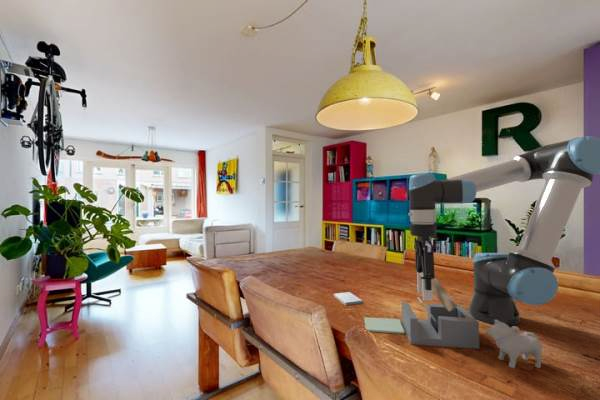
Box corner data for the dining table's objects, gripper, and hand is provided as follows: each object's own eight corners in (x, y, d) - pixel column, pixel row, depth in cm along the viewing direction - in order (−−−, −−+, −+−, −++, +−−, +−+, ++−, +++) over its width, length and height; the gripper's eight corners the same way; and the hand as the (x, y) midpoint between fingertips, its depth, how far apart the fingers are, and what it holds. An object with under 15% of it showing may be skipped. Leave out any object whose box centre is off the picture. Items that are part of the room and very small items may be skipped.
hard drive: (363, 300, 118) (350, 291, 130) (345, 302, 116) (333, 293, 128) (363, 304, 118) (350, 295, 130) (345, 306, 116) (333, 296, 128)
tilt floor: (441, 330, 91) (445, 328, 91) (447, 337, 86) (451, 335, 86) (416, 297, 92) (420, 295, 92) (420, 303, 87) (424, 300, 87)
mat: (399, 320, 100) (399, 319, 100) (404, 333, 90) (404, 332, 90) (364, 318, 102) (364, 317, 102) (365, 331, 92) (365, 329, 92)
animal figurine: (482, 357, 76) (481, 317, 76) (529, 356, 76) (528, 316, 77) (496, 368, 71) (495, 326, 71) (546, 367, 71) (545, 325, 71)
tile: (442, 304, 92) (450, 299, 91) (449, 311, 86) (457, 306, 85) (418, 273, 93) (426, 268, 92) (423, 278, 87) (431, 273, 87)
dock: (460, 327, 94) (459, 304, 94) (479, 348, 80) (478, 322, 81) (401, 324, 97) (401, 302, 97) (410, 344, 84) (410, 318, 84)
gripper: (404, 221, 100) (406, 287, 100) (417, 225, 81) (419, 306, 81) (427, 220, 99) (429, 287, 98) (445, 225, 80) (448, 307, 80)
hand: (425, 296), depth 90 cm, fingers closed on tile, 6 cm apart
